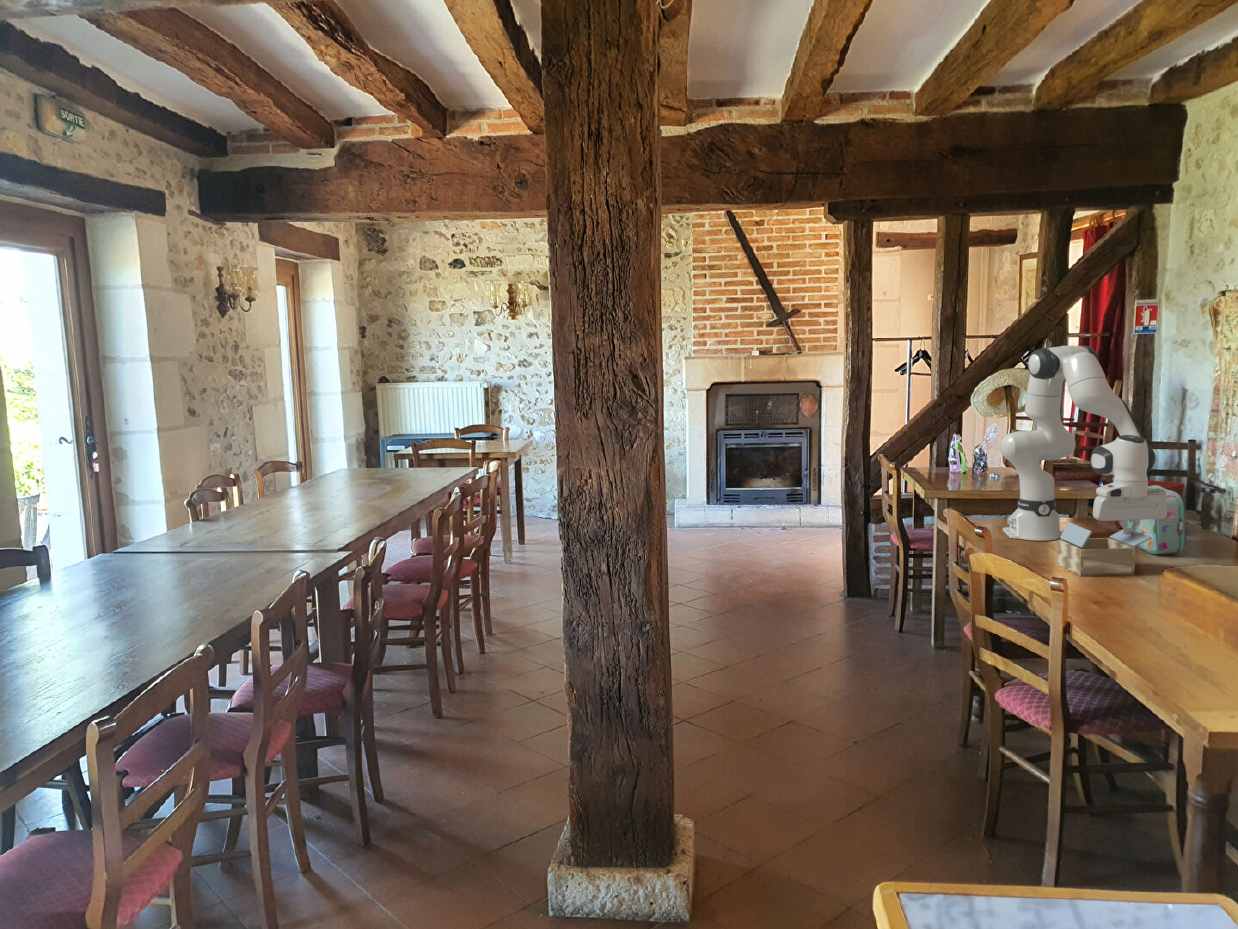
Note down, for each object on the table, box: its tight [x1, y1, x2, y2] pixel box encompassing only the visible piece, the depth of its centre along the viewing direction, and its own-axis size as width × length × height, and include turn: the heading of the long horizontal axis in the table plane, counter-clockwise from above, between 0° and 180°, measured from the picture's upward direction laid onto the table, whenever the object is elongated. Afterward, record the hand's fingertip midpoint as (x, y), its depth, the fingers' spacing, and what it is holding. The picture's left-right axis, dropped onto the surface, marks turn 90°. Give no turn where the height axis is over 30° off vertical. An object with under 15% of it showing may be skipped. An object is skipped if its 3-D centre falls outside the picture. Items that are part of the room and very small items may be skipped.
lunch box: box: [1127, 485, 1187, 555], centre depth 274 cm, size 27×10×21 cm, turn 168°
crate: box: [1056, 537, 1136, 577], centre depth 254 cm, size 15×16×8 cm
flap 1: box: [1059, 522, 1093, 548], centre depth 253 cm, size 14×1×6 cm, turn 177°
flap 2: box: [1109, 529, 1151, 548], centre depth 253 cm, size 14×1×6 cm
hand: (1129, 534), depth 252 cm, fingers closed
